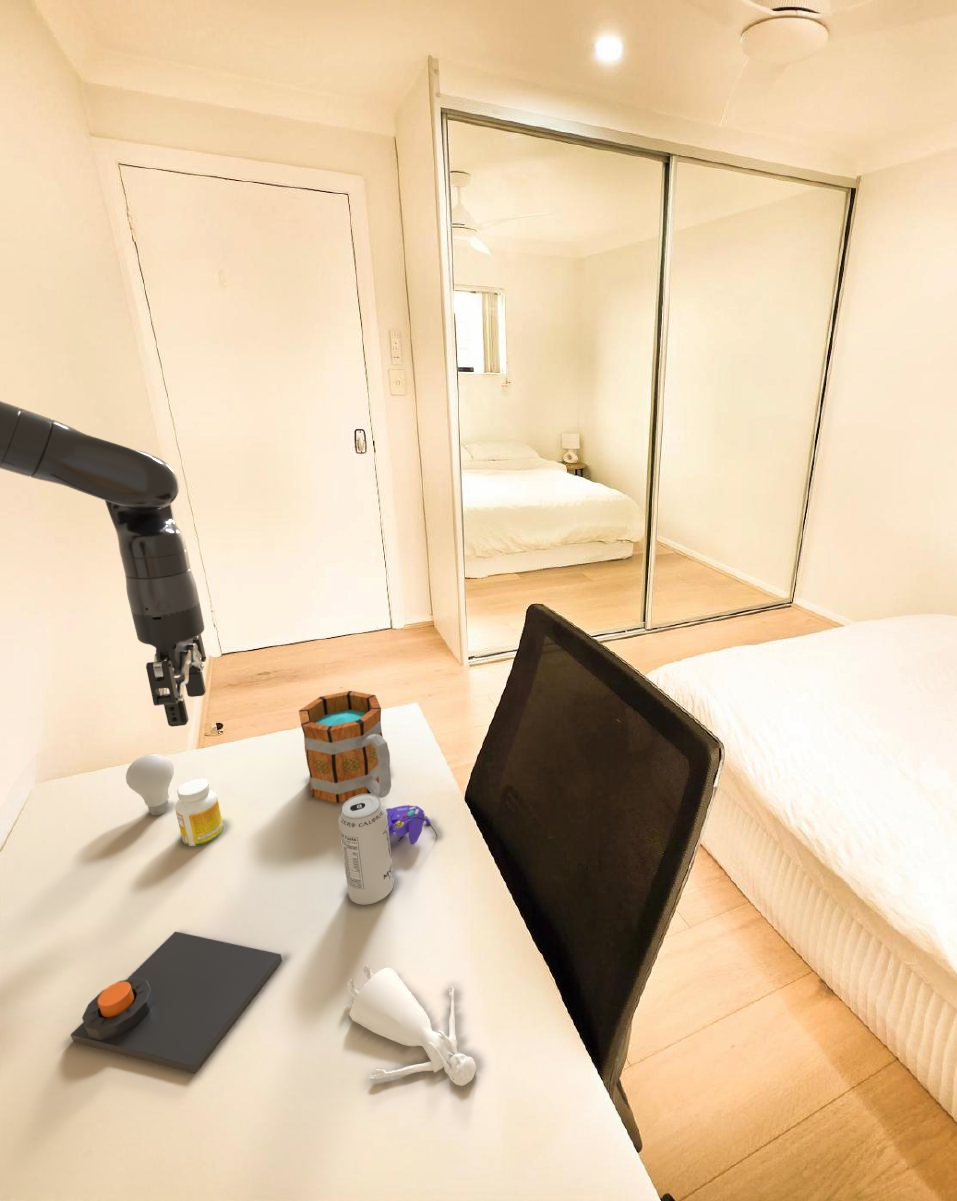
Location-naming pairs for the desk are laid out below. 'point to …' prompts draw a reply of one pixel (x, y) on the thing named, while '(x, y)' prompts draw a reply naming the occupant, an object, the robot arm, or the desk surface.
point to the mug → (345, 746)
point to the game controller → (406, 821)
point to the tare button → (115, 999)
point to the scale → (181, 1002)
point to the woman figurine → (407, 1025)
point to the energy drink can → (366, 849)
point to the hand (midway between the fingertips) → (188, 709)
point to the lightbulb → (151, 781)
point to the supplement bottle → (198, 813)
